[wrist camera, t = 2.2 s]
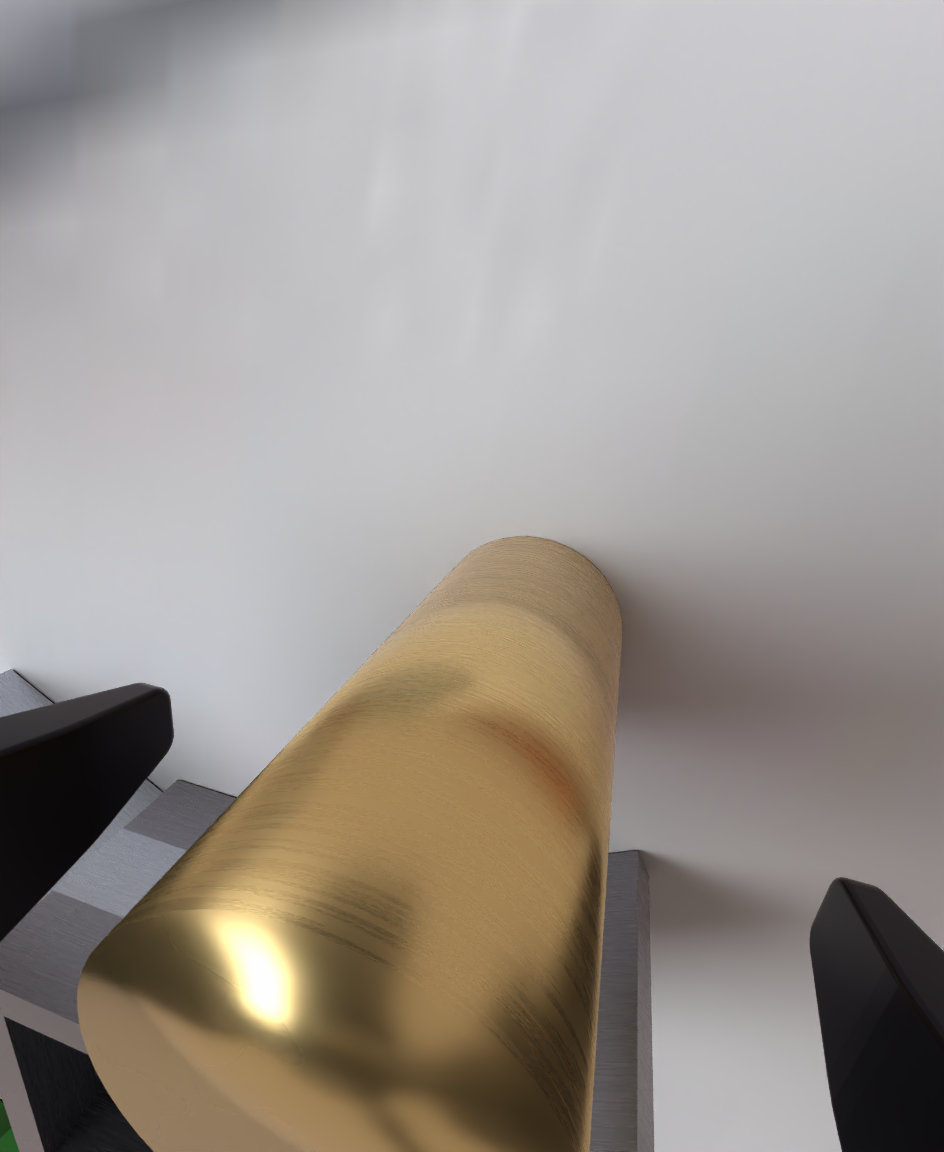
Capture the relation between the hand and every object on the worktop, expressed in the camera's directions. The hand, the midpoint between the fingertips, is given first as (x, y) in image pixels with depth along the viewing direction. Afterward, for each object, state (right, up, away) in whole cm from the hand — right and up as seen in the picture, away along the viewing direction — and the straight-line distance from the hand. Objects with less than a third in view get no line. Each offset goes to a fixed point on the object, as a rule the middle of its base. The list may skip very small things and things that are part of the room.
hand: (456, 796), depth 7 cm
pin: (+1, +2, +5) cm, 5 cm away
